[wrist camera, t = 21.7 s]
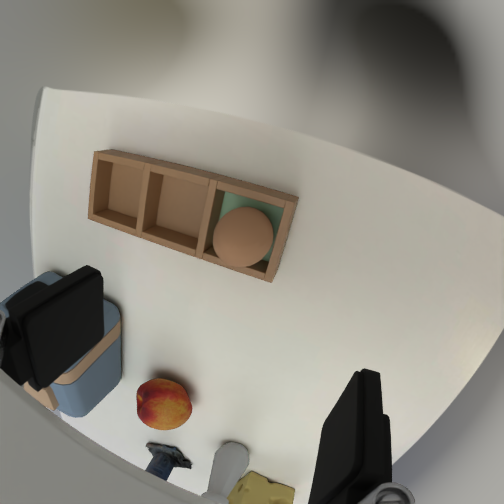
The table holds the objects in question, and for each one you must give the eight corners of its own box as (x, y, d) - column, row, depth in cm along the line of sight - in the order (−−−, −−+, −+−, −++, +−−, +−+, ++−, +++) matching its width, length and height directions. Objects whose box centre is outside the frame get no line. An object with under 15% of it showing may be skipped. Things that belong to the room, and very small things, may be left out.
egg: (231, 197, 32) (200, 213, 24) (282, 204, 31) (265, 223, 23) (227, 246, 33) (197, 274, 26) (276, 254, 32) (258, 286, 25)
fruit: (172, 360, 42) (145, 396, 35) (209, 399, 43) (188, 437, 35) (143, 376, 45) (116, 408, 38) (176, 410, 46) (155, 444, 38)
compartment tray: (299, 197, 30) (295, 202, 27) (277, 270, 33) (271, 283, 30) (112, 149, 34) (93, 151, 31) (104, 212, 37) (87, 218, 34)
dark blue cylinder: (174, 442, 50) (147, 489, 39) (195, 465, 51) (172, 510, 40) (142, 440, 53) (114, 481, 42) (162, 462, 54) (138, 502, 43)
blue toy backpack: (127, 303, 41) (49, 368, 26) (126, 381, 47) (72, 443, 32) (49, 263, 43) (-26, 304, 28) (57, 340, 49) (1, 386, 34)
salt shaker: (242, 461, 47) (220, 519, 35) (214, 447, 47) (187, 504, 35) (258, 449, 44) (236, 512, 32) (228, 434, 45) (200, 496, 33)
